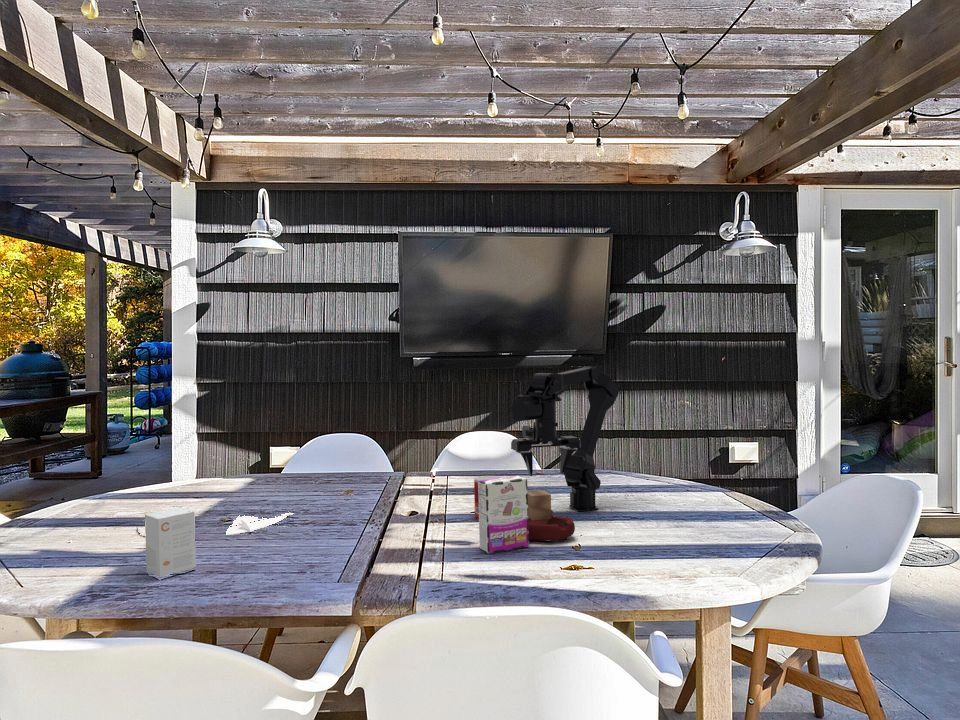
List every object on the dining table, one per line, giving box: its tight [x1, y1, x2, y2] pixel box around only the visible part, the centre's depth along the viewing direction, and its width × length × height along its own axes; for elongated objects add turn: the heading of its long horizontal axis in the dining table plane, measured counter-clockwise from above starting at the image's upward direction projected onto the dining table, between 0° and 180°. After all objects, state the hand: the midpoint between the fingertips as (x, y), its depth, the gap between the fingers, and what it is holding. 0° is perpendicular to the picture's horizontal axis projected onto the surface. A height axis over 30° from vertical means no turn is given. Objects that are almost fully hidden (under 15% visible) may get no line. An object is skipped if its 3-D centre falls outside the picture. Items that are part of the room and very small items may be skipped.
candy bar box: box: [478, 475, 530, 555], centre depth 154 cm, size 11×5×16 cm, turn 117°
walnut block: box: [528, 490, 552, 520], centre depth 164 cm, size 5×5×6 cm
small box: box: [144, 507, 197, 577], centre depth 140 cm, size 8×6×13 cm
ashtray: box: [528, 509, 576, 542], centre depth 164 cm, size 18×16×5 cm
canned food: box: [473, 475, 502, 520], centre depth 183 cm, size 8×8×11 cm
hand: (546, 474), depth 181 cm, fingers open, 9 cm apart
